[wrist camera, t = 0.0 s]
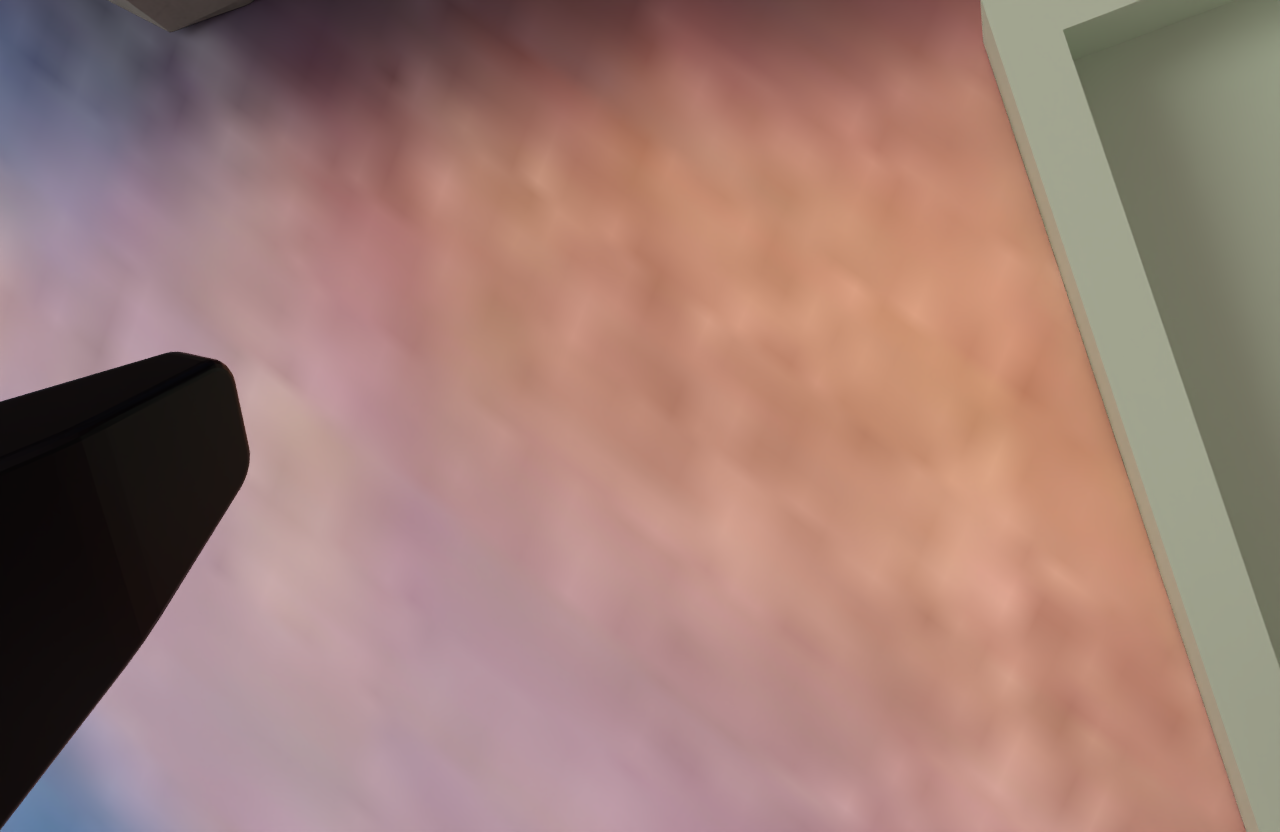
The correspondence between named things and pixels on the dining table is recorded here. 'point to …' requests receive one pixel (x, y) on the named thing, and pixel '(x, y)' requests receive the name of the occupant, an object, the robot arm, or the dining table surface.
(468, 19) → the dining table surface
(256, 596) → the dining table surface
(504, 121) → the dining table surface
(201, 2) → the coffeepot
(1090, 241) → the green bin
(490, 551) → the dining table surface
